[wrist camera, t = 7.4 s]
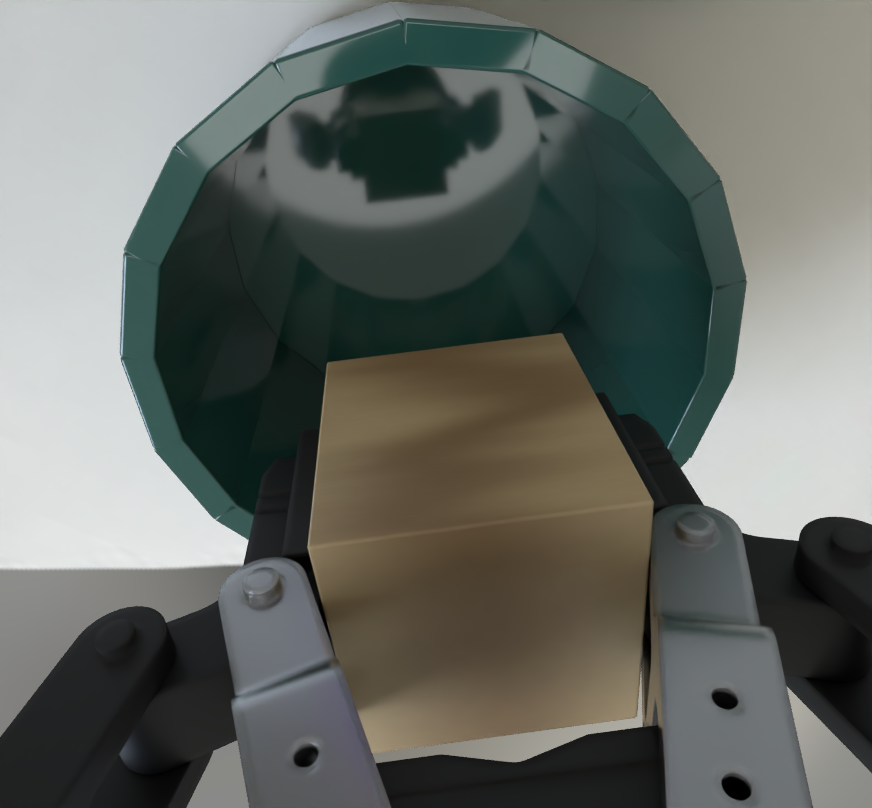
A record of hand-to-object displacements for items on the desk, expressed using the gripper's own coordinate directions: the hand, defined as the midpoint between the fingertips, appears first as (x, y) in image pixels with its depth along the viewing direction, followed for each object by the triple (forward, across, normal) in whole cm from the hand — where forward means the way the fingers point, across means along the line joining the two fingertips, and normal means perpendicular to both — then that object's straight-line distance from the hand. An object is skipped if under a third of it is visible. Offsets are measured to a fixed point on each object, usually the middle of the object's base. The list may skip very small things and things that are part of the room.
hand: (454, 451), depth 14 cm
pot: (+14, 0, 0) cm, 14 cm away
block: (0, 0, 0) cm, 0 cm away
